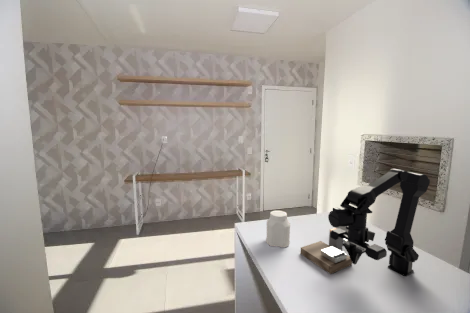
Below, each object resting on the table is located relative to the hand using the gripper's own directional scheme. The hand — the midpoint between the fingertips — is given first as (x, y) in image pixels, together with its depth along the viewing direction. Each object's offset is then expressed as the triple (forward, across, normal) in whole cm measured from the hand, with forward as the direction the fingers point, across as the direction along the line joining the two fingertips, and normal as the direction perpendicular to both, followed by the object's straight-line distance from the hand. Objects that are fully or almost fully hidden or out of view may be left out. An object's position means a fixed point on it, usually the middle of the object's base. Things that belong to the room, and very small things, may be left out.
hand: (354, 263), depth 81 cm
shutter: (+2, +9, 0) cm, 9 cm away
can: (+6, +24, -27) cm, 36 cm away
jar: (+5, +34, +9) cm, 36 cm away
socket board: (+5, +13, 0) cm, 14 cm away
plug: (+5, +17, -12) cm, 21 cm away
